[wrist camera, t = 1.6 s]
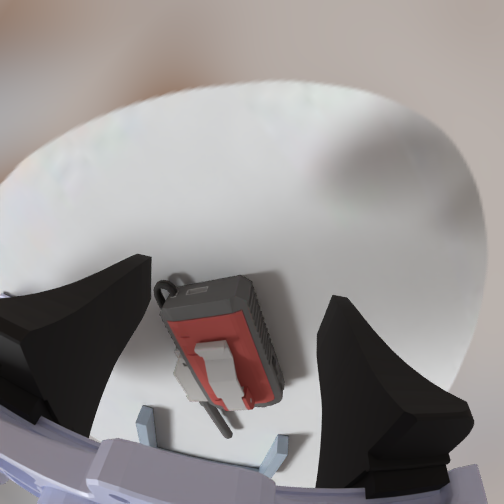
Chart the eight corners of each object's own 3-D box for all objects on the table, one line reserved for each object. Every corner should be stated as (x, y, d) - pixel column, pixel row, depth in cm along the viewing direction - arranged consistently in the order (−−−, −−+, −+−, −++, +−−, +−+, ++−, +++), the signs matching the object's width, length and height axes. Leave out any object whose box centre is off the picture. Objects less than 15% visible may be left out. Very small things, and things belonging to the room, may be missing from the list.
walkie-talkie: (137, 277, 23) (221, 427, 31) (112, 312, 19) (215, 459, 27) (247, 255, 21) (300, 421, 29) (238, 292, 17) (300, 456, 25)
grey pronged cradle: (149, 448, 36) (144, 462, 33) (142, 405, 30) (135, 422, 28) (265, 472, 35) (264, 487, 33) (288, 436, 30) (287, 454, 28)
